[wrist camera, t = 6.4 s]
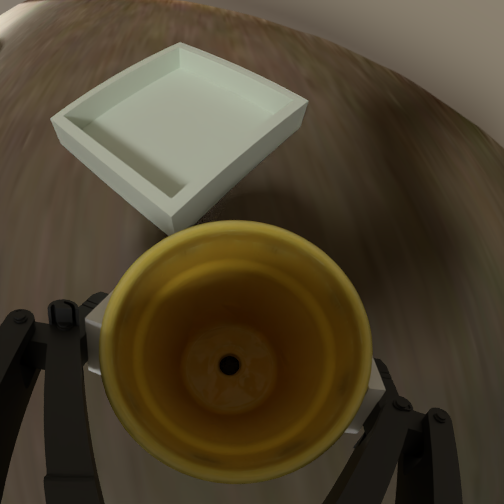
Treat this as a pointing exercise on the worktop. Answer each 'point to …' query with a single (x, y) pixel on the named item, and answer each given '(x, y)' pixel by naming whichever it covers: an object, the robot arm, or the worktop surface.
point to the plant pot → (235, 351)
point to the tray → (178, 131)
